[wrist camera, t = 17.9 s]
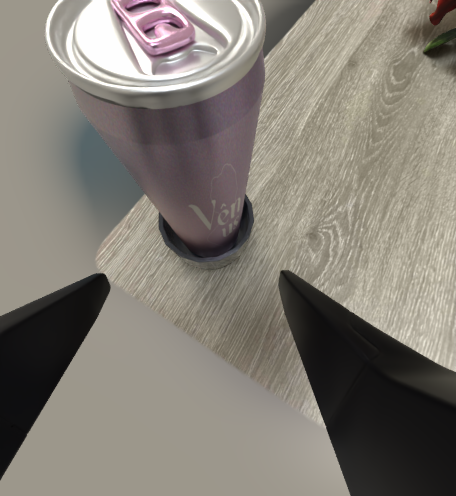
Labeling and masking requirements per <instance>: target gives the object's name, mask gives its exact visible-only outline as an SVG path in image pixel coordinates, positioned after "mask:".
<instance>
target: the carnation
mask: <svg viewBox="0 0 456 496" xmlns="http://www.w3.org/2000/svg"><path fill="white" fill-rule="evenodd" d="M431 2H432V0H430V1H429V3H431ZM454 9H456V0H438V4H437V9H436V11H435V12H434V13H432V14H431V15H430V16H429V18H430V21H431V23H432V24H433V25H434V26H435V25H438V24H439V23H440V21H441V20H442V18H443V17H444V16H445V14H446V13H448V12H450V11H452V10H454ZM454 38H456V28H454V29H452V30H449V31H447V32H445V33H443V34H441V35H440V36H438V37H436V38H435V39H433V40H432V41H431V42H430V43H429V44H428V45H427V46H426V48H425V50H424V53H425V52H427V51H428V50H430V49H432V48H435V47H437V46H439V45H441V44H444V43H446V42H448V41H450V40H452V39H454Z"/></svg>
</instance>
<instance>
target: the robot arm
mask: <svg viewBox="0 0 456 496" xmlns="http://www.w3.org/2000/svg"><path fill="white" fill-rule="evenodd" d="M278 286H279V291H280V295H281V300H282V304H283V308H284V312H285V315H286V318H287V321H288V324H289V327H290V329H291V332H292V335H293V338H294V340H295V343H296V346H297V349H298V351H299V354H300V357H301V360H302V363H303V365H304V368H305V371H306V374H307V376H308V379H309V382H310V385H311V387H312V390H313V393H314V396H315V398H316V401H317V404H318V407H319V409H320V412H321V415H322V418H323V420H324V423H325V426H327V427H326V429H327V432H328V434H329V437H330V440H331V443H332V445H333V448H334V451H335V454H336V457H337V459H338V462H339V465H340V468H341V470H342V473H343V476H344V479H345V481H346V484H347V487H348V489H349V492H350V495H351V496H456V372H454V371H452V370H449V369H447V368H445V367H443V366H441V365H439V364H437V363H435V362H433V361H432V360H430V359H428V358H426V357H425V356H423V355H421V354H420V353H418V352H416V351H415V350H413V349H411V348H409V347H408V346H406V345H404V344H403V343H401V342H399V341H397V340H396V339H394V338H392V337H391V336H389V335H387V334H386V333H384V332H382V331H381V330H379V329H377V328H376V327H374V326H372V325H371V324H369V323H368V322H366V321H365V320H363V319H362V318H360V317H358V316H357V315H355V314H354V313H352V312H350V311H349V310H348V309H346V308H345V307H343V306H342V305H340V304H339V303H337V302H336V301H334V300H333V299H331V298H330V297H328V296H327V295H325V294H324V293H322V292H321V291H319V290H318V289H316V288H315V287H313V286H312V285H310V284H309V283H307V282H306V281H304V280H303V279H301V278H300V277H298V276H297V275H295V274H294V273H292V272H291V271H289V270H282V271H281V272H280V277H279V283H278ZM109 292H110V284H109V282H108V279H107V277H106V275H105V274H103V273H98V274H97V273H96V274H93V275H91V276H89V277H86V278H84V279H82V280H80V281H77V282H75V283H73V284H71V285H69V286H66V287H64V288H62V289H60V290H58V291H55V292H53V293H51V294H49V295H47V296H44V297H42V298H40V299H38V300H35V301H33V302H31V303H29V304H26V305H24V306H22V307H20V308H18V309H15V310H13V311H11V312H9V313H7V314H4V315H2V316H0V480H1V478H2V476H3V475H4V473H5V471H6V470H7V468H8V466H9V465H10V463H11V461H12V460H13V458H14V456H15V455H16V453H17V451H18V450H19V448H20V446H21V445H22V443H23V441H24V440H25V438H26V436H27V434H28V432H29V431H30V429H31V427H32V426H33V424H34V422H35V421H36V419H37V418H38V416H39V414H40V412H41V411H42V409H43V407H44V406H45V404H46V402H47V401H48V399H49V398H50V396H51V394H52V392H53V391H54V389H55V387H56V386H57V384H58V382H59V381H60V379H61V377H62V376H63V374H64V372H65V371H66V369H67V367H68V366H69V364H70V362H71V361H72V359H73V357H74V356H75V354H76V352H77V351H78V349H79V347H80V345H81V344H82V342H83V341H84V339H85V337H86V336H87V334H88V332H89V331H90V329H91V327H92V326H93V324H94V322H95V321H96V319H97V317H98V315H99V313H100V311H101V309H102V307H103V304H104V302H105V300H106V298H107V296H108V294H109Z"/></svg>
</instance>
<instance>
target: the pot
mask: <svg viewBox="0 0 456 496" xmlns="http://www.w3.org/2000/svg"><path fill="white" fill-rule="evenodd" d="M253 223H254V217H253V209H252V204H251V202H250V200H249V199H248V197H247V196H246V194H245V198H244V204H243V210H242V216H241V222H240V227H239V233H238V237H237V240H236V242H235V244H234V245H233V246H232V248H231V249H230V250H228V251H227V252H226V253H224V254H221V255H219V256H216V257H202V256H199V255H196V254H194V253H193V252H191V251H190V250H189V249H188V248H187V247H186V246H185V244H184V243H183V242H182V240H181V239H180V238H179V237H178V235H177V234H176V233H175V231H174V230H173V229H172V228H171V226H170V225H169V224H168V222H167V221H166V220H165V218H164V217H163V216H162V215H161V213H160V212H159V230H160V233H161V235H162V237H163V239H164V242H165V244H166V245H167V246H168V247H169V248H170V249H171V250H173V251H174V252H175V253H176V254H177V255H178V256H179V257H180V258H182V259H183V260H184V261H185V262H186V263H187V264H189V265H191V266H194V267H196V268H200V269H206V270H213V269H219V268H222V267H225V266H227V265H229V264H231V263H232V262H234V261H235V260H236V259H237V258H238V257H239V256H240V255H241V253H242V252H243V250H244V249H245V248H246V245H247V242H248V239H249V236H250V233H251V229H252V226H253Z"/></svg>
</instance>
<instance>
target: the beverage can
mask: <svg viewBox="0 0 456 496" xmlns="http://www.w3.org/2000/svg"><path fill="white" fill-rule="evenodd" d="M265 31H266V17H265V13H264V9H263V6H262V3H261V1H260V0H58V1H57V2H56V4H55V5H54V6H53V8H52V10H51V12H50V14H49V16H48V18H47V21H46V25H45V31H44V35H45V43H46V46H47V49H48V51H49V54H50V56H51V58H52V60H53V61H54V63H55V64H56V66H57V67H58V69H59V70H60V71H61V72H62V74H63V75H64V76H65V77H66V78H67V79H68V82H69V84H70V87H71V89H72V91H73V94H74V97H75V99H76V102H77V104H78V106H79V108H80V109H81V111H82V113H83V114H84V115H85V116H86V118H87V119H88V120H89V121H90V123H91V124H92V125H93V127H94V128H95V129H96V131H97V132H98V133H99V134H100V136H101V137H102V138H103V140H104V141H105V142H106V144H107V145H108V146H109V147H110V149H111V150H112V151H113V153H114V154H115V155H116V157H117V158H118V159H119V160H120V162H121V163H122V164H123V166H124V167H125V168H126V169H127V171H128V172H129V173H130V175H131V176H132V177H133V178H134V180H135V181H136V182H137V184H138V185H139V186H140V188H141V189H142V190H143V191H144V193H145V194H146V195H147V197H148V198H149V199H150V200H151V202H152V203H153V204H154V206H155V207H156V208H157V209H158V211H159V212H160V213H161V215H162V216H163V217H164V218H165V220H166V221H167V222H168V224H169V225H170V226H171V228H172V229H173V230H174V231H175V233H176V234H177V235H178V237H179V238H180V239H181V240H182V242H183V243H184V244H185V246H186V247H187V248H188V249H189V250H190V251H191V252H193V253H194V254H196V255H199V256H202V257H216V256H219V255H221V254H224V253H226V252H227V251H228V250H230V249H231V248H232V246H233V245H234V244H235V242H236V240H237V237H238V233H239V227H240V222H241V216H242V210H243V204H244V198H245V192H246V186H247V181H248V175H249V169H250V163H251V157H252V151H253V146H254V140H255V134H256V128H257V122H258V116H259V110H260V105H261V99H262V93H263V87H264V81H265V67H264V58H263V50H262V46H263V43H264V39H265Z"/></svg>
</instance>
